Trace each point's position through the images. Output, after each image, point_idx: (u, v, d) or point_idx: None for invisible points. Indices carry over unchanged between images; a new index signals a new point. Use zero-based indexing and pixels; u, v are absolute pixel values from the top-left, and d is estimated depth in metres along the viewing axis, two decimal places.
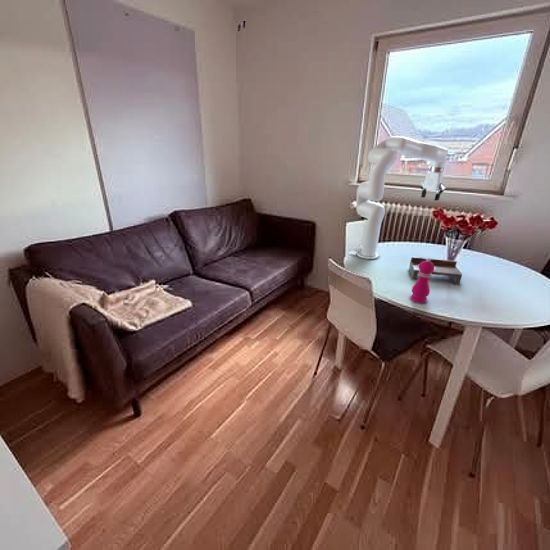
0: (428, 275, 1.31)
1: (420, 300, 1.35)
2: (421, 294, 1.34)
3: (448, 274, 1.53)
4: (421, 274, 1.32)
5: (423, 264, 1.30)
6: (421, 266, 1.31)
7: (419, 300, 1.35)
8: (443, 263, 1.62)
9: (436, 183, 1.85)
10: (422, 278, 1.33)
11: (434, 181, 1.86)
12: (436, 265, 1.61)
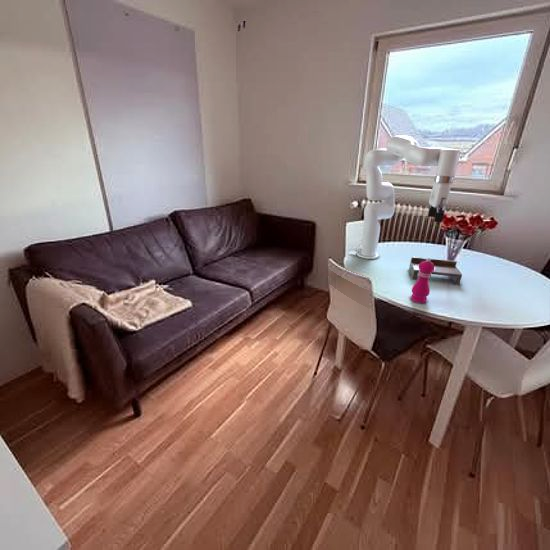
0: (428, 275, 1.31)
1: (420, 300, 1.35)
2: (421, 294, 1.34)
3: (448, 274, 1.53)
4: (421, 274, 1.32)
5: (423, 264, 1.30)
6: (421, 266, 1.31)
7: (419, 300, 1.35)
8: (443, 263, 1.62)
9: (436, 198, 1.33)
10: (422, 278, 1.33)
11: (435, 195, 1.34)
12: (436, 265, 1.61)
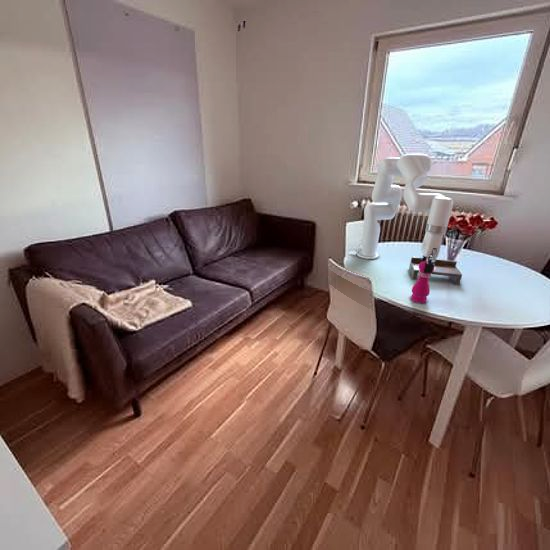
0: (428, 275, 1.31)
1: (420, 300, 1.35)
2: (421, 294, 1.34)
3: (448, 274, 1.53)
4: (421, 274, 1.32)
5: (423, 264, 1.30)
6: (421, 266, 1.31)
7: (419, 300, 1.35)
8: (443, 263, 1.62)
9: (427, 247, 1.25)
10: (422, 278, 1.33)
11: (426, 244, 1.26)
12: (436, 265, 1.61)
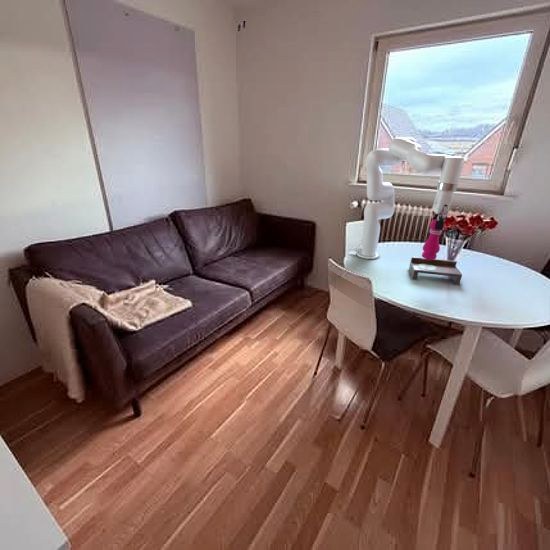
0: (439, 232, 1.41)
1: (430, 257, 1.45)
2: (431, 250, 1.43)
3: (448, 274, 1.53)
4: (432, 231, 1.41)
5: (434, 221, 1.39)
6: (432, 224, 1.40)
7: (429, 257, 1.45)
8: (443, 263, 1.62)
9: (438, 204, 1.34)
10: (433, 235, 1.42)
11: (437, 201, 1.35)
12: (436, 265, 1.61)
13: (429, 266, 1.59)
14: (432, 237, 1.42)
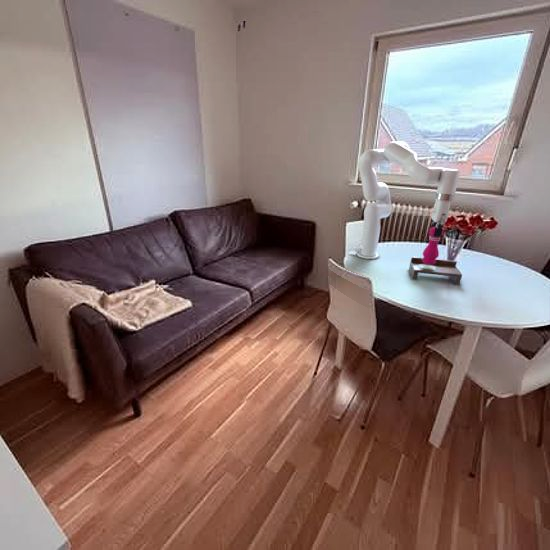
0: (437, 238, 1.51)
1: (430, 262, 1.55)
2: (431, 256, 1.53)
3: (448, 274, 1.53)
4: (431, 238, 1.51)
5: (433, 229, 1.50)
6: (431, 231, 1.50)
7: (429, 262, 1.55)
8: (443, 263, 1.62)
9: (437, 213, 1.44)
10: (432, 242, 1.52)
11: (436, 211, 1.45)
12: (436, 265, 1.61)
13: (429, 266, 1.59)
14: (431, 243, 1.52)
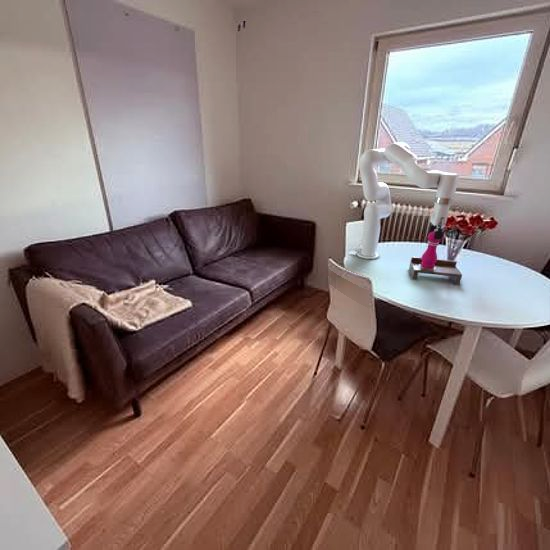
0: (436, 243, 1.52)
1: (429, 266, 1.56)
2: (429, 260, 1.54)
3: (448, 274, 1.53)
4: (430, 243, 1.53)
5: (432, 234, 1.51)
6: (430, 236, 1.51)
7: (428, 266, 1.56)
8: (443, 263, 1.62)
9: (436, 217, 1.45)
10: (431, 246, 1.53)
11: (435, 214, 1.46)
12: (436, 265, 1.61)
13: None
14: (430, 248, 1.54)
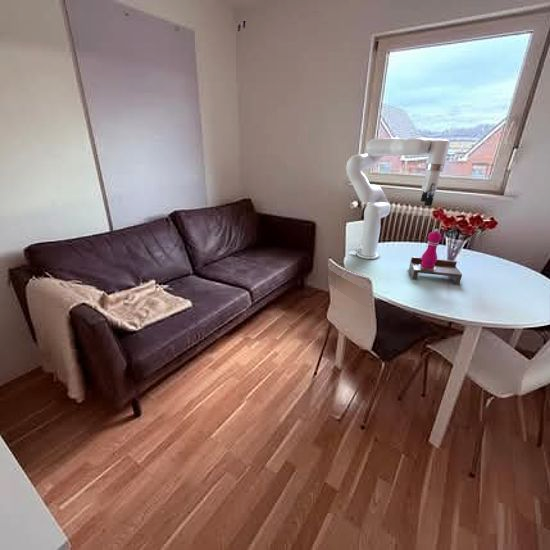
0: (436, 243, 1.52)
1: (429, 266, 1.56)
2: (429, 260, 1.54)
3: (448, 274, 1.53)
4: (430, 243, 1.53)
5: (432, 234, 1.51)
6: (430, 236, 1.51)
7: (428, 266, 1.56)
8: (443, 263, 1.62)
9: (426, 183, 1.48)
10: (431, 246, 1.53)
11: (426, 181, 1.49)
12: (436, 265, 1.61)
13: None
14: (430, 248, 1.54)
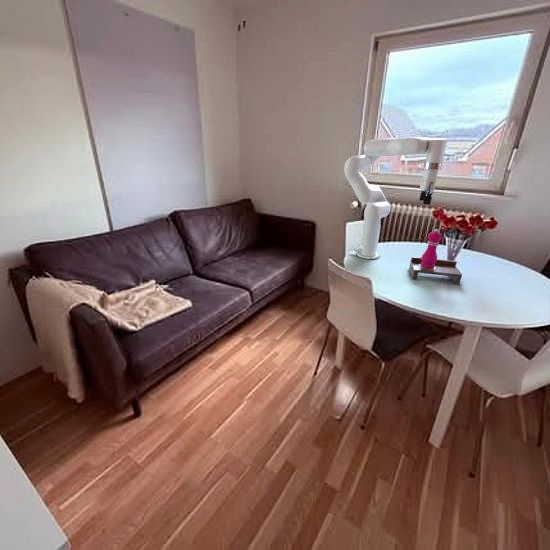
0: (436, 243, 1.52)
1: (429, 266, 1.56)
2: (429, 260, 1.54)
3: (448, 274, 1.53)
4: (430, 243, 1.53)
5: (432, 234, 1.51)
6: (430, 236, 1.51)
7: (428, 266, 1.56)
8: (443, 263, 1.62)
9: (425, 182, 1.49)
10: (431, 246, 1.53)
11: (424, 180, 1.50)
12: (436, 265, 1.61)
13: None
14: (430, 248, 1.54)
